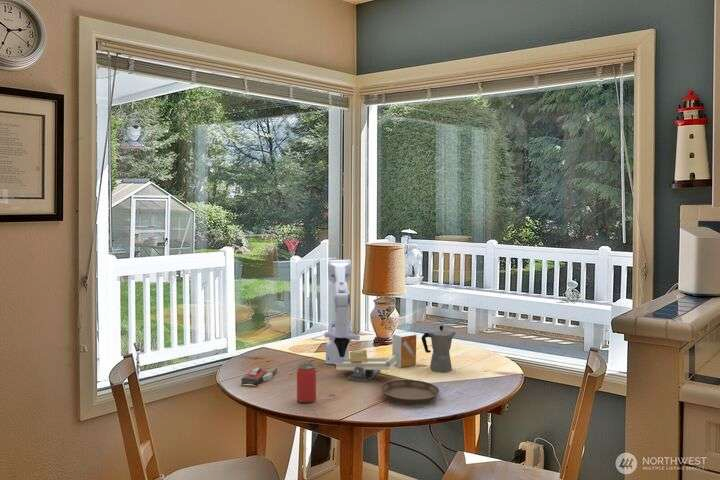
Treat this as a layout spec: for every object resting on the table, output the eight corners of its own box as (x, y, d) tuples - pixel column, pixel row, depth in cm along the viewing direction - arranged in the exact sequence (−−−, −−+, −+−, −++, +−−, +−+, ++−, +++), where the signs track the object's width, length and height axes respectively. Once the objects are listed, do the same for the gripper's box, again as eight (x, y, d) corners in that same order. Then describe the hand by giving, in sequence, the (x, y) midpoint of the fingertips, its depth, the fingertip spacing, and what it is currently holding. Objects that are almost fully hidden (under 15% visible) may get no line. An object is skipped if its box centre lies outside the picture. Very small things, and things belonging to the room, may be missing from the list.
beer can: (297, 397, 211) (296, 363, 210) (316, 396, 211) (315, 363, 211) (296, 403, 204) (296, 369, 203) (316, 403, 205) (316, 368, 204)
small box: (401, 368, 246) (401, 336, 245) (391, 364, 252) (392, 333, 250) (416, 365, 251) (416, 334, 250) (407, 361, 256) (407, 331, 255)
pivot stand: (347, 379, 231) (347, 368, 231) (361, 369, 245) (361, 358, 244) (366, 382, 228) (366, 370, 228) (380, 371, 242) (380, 360, 241)
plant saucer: (446, 392, 217) (446, 383, 217) (428, 411, 198) (429, 401, 198) (392, 385, 225) (392, 376, 225) (371, 402, 206) (371, 393, 206)
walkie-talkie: (261, 388, 222) (279, 372, 241) (261, 376, 221) (279, 361, 241) (239, 387, 223) (258, 371, 243) (239, 375, 223) (258, 360, 243)
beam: (336, 369, 236) (335, 361, 236) (345, 363, 244) (344, 356, 244) (389, 369, 227) (388, 361, 227) (396, 363, 236) (395, 355, 236)
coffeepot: (449, 364, 252) (450, 322, 250) (460, 370, 243) (461, 326, 241) (416, 368, 246) (416, 324, 245) (426, 374, 237) (427, 329, 236)
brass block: (351, 365, 235) (349, 352, 235) (355, 362, 240) (354, 349, 240) (362, 365, 234) (361, 352, 233) (367, 362, 238) (366, 349, 238)
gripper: (321, 323, 237) (321, 357, 238) (355, 326, 232) (355, 361, 233) (328, 319, 244) (328, 352, 245) (361, 322, 238) (361, 356, 239)
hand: (342, 356), depth 239 cm, fingers closed
